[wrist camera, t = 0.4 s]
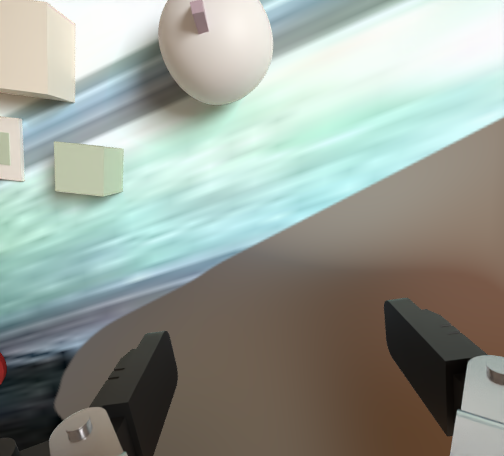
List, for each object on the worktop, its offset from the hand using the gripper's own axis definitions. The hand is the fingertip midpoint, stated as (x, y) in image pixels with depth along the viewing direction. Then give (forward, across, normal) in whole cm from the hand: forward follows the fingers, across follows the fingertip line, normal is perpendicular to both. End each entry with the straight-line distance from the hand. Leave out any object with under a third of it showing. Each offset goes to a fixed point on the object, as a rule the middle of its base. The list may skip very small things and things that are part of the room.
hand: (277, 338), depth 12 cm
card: (+27, +29, -12) cm, 41 cm away
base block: (+27, +22, -21) cm, 40 cm away
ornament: (+27, +2, -17) cm, 32 cm away
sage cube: (+27, +18, -8) cm, 33 cm away
